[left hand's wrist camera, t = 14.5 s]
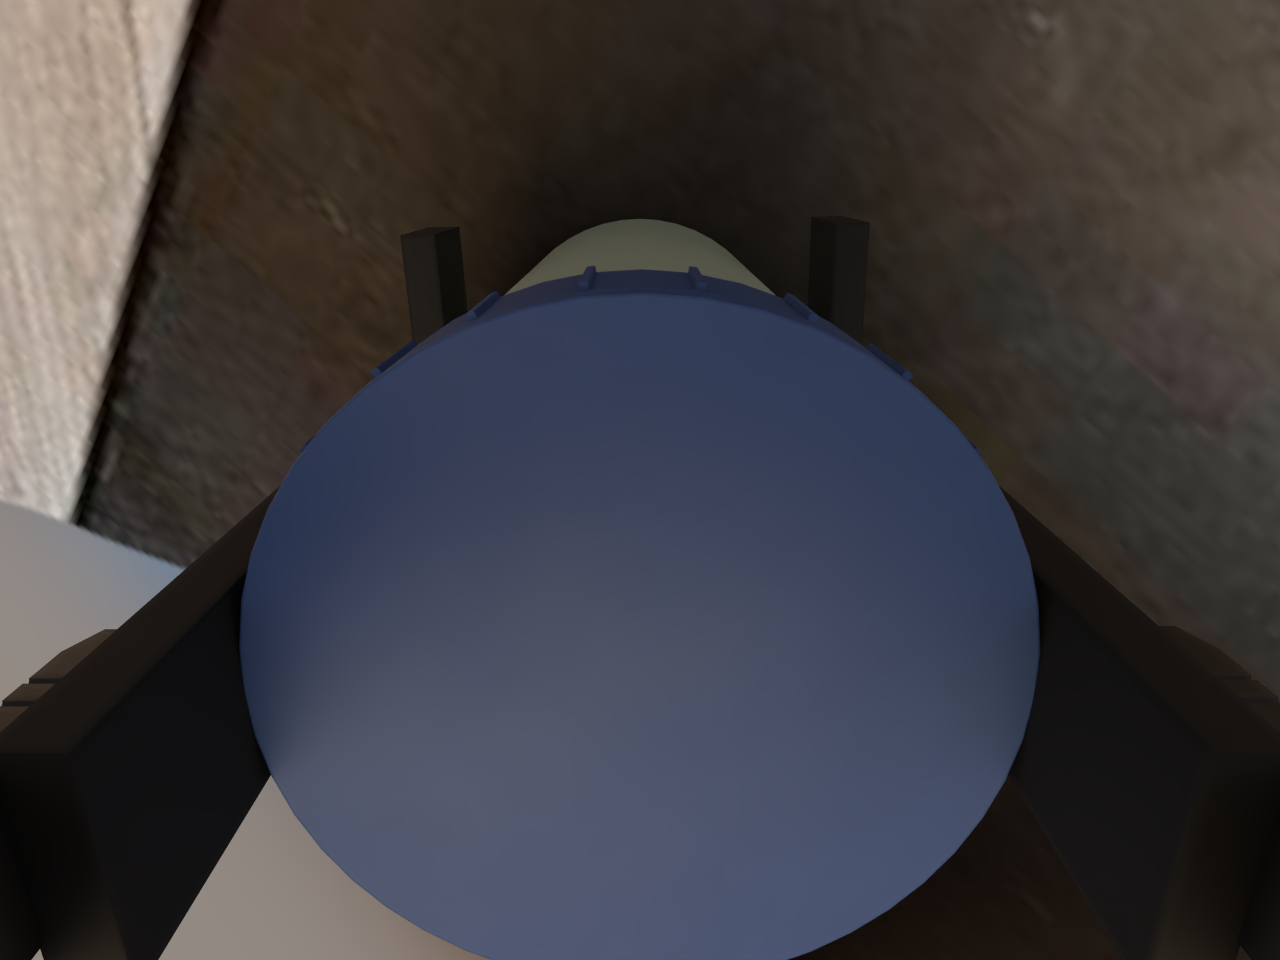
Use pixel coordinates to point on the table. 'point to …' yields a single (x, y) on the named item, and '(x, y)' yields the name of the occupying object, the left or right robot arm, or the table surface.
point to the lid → (639, 627)
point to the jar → (639, 253)
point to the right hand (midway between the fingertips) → (634, 225)
